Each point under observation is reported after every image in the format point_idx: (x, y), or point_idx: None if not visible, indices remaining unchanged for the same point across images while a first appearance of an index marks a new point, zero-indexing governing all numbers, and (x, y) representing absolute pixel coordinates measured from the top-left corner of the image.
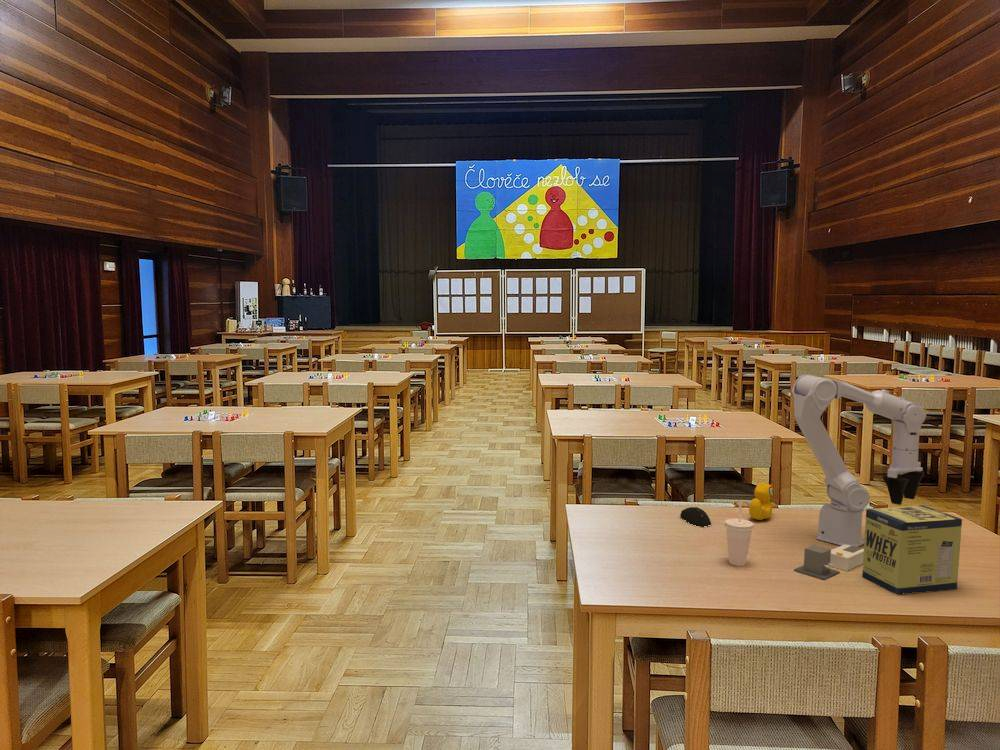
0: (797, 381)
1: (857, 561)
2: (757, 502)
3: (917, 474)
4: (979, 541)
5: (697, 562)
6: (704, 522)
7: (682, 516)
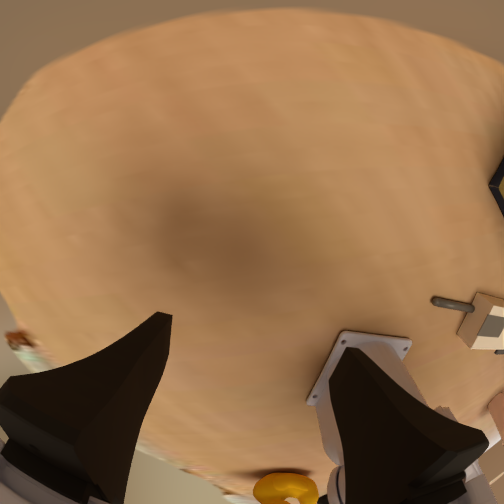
0: None
1: (501, 301)
2: (315, 501)
3: (93, 454)
4: (92, 69)
5: None
6: None
7: None
